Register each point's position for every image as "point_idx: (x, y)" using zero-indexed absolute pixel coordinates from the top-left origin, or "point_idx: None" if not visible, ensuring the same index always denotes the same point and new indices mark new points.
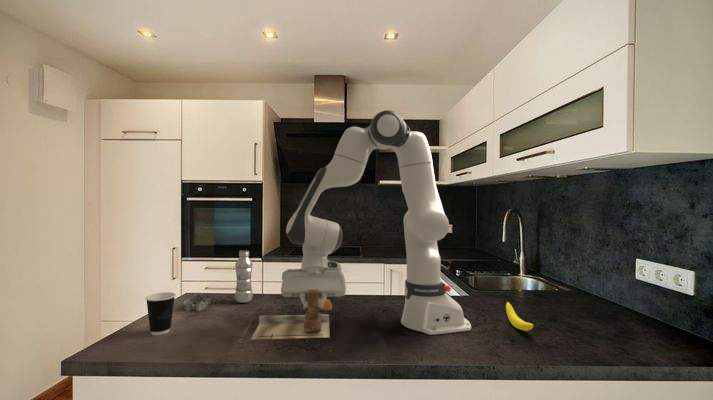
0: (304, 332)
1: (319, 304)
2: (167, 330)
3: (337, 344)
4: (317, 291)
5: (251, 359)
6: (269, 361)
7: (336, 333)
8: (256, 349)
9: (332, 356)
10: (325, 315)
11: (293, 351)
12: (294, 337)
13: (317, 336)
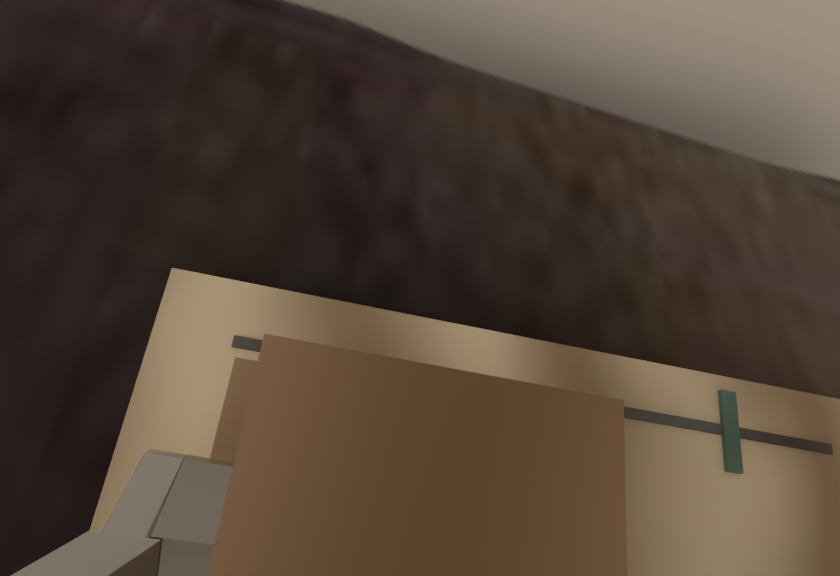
0: None
1: (217, 486)
2: None
3: (113, 233)
4: (274, 462)
5: (758, 192)
6: (648, 136)
7: (12, 509)
8: (771, 322)
9: (227, 64)
10: None
11: (508, 218)
12: (524, 351)
13: (297, 317)
